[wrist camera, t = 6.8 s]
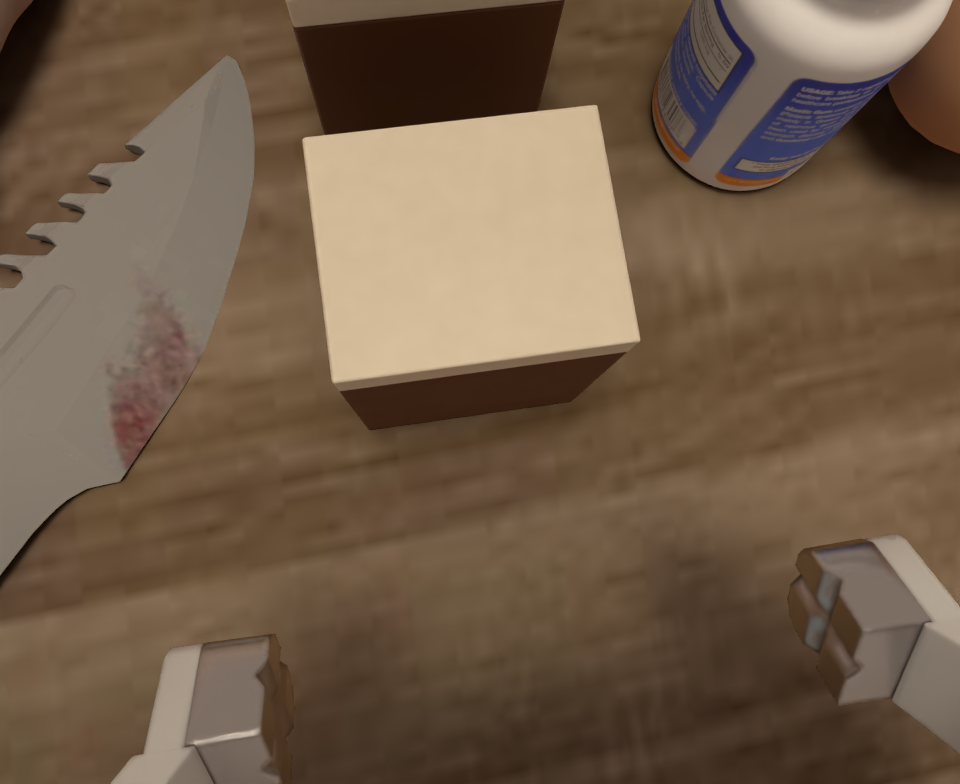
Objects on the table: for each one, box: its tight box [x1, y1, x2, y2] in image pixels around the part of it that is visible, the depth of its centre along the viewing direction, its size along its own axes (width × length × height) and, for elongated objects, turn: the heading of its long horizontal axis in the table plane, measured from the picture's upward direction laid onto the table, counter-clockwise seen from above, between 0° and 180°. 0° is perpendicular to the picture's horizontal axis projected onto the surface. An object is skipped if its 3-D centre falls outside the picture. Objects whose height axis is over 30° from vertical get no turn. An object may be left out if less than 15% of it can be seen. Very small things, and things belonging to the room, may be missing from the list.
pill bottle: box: [652, 0, 953, 191], centre depth 20 cm, size 5×5×10 cm
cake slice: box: [302, 105, 640, 430], centre depth 19 cm, size 6×5×8 cm
